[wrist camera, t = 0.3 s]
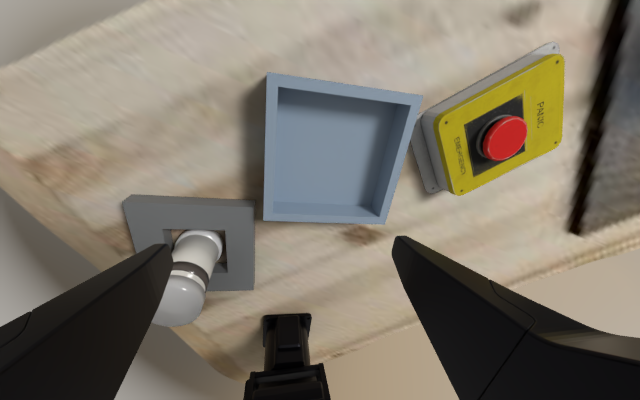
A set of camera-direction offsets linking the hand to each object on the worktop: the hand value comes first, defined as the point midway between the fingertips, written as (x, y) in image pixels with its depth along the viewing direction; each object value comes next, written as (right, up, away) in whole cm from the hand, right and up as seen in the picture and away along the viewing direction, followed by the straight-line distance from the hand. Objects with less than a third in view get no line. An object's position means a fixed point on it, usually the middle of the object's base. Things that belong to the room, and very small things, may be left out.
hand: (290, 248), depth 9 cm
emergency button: (+18, +10, +15) cm, 25 cm away
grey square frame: (-12, -3, +15) cm, 19 cm away
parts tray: (+2, +6, +13) cm, 15 cm away
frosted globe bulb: (-12, -3, +15) cm, 19 cm away
